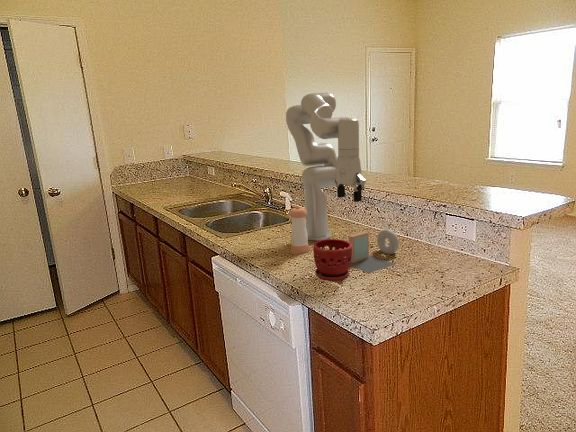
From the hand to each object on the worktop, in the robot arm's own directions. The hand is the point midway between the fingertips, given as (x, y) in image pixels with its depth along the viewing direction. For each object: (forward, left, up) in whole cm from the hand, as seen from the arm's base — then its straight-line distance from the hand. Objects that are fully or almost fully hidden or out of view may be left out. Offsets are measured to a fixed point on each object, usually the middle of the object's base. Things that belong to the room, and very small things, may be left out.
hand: (349, 199), depth 164 cm
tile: (+6, -1, -22) cm, 23 cm away
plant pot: (+11, -17, -23) cm, 31 cm away
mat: (+10, -1, -23) cm, 25 cm away
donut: (+7, +13, -23) cm, 27 cm away
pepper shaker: (-18, -11, -23) cm, 31 cm away
